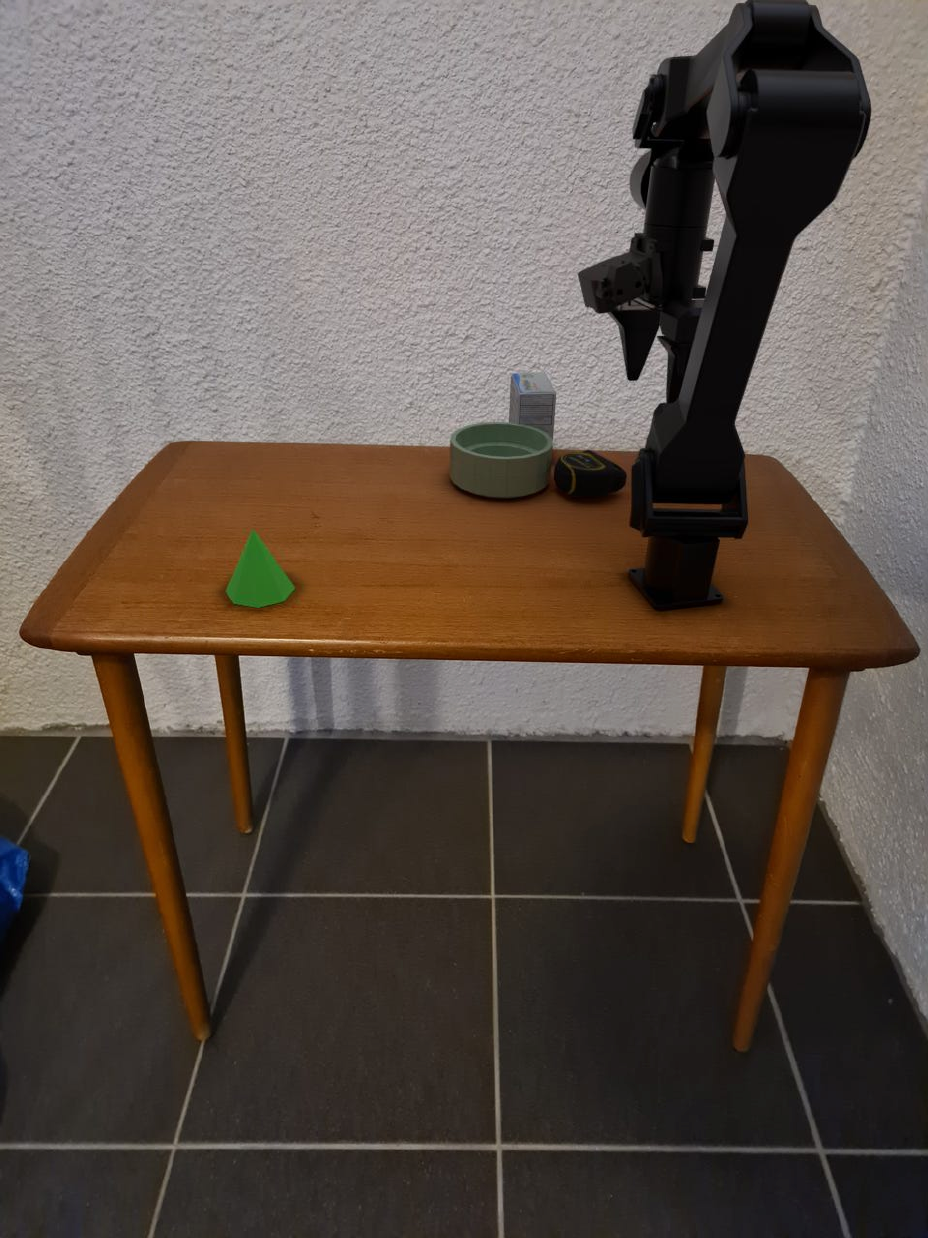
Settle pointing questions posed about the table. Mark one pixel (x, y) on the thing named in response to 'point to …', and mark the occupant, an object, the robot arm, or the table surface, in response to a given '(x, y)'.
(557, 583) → the table surface
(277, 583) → the green faceted cone
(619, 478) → the tape measure
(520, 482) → the bowl
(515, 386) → the medicine box
